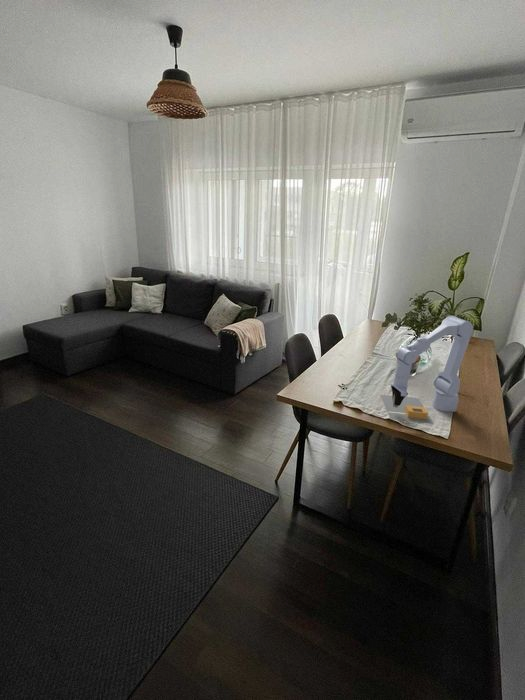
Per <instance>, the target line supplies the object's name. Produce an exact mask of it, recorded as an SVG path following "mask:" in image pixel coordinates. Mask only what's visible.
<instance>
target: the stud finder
mask: <svg viewBox="0 0 525 700" xmlns="http://www.w3.org/2000/svg"><path fill="white" fill-rule="evenodd" d="M405 413H406V415H407V417H410V418H420V419H427V416H428V415H429V412H428V411H427V409H426V407H425V406H423V407H418V406H407V405H406V407H405Z"/></svg>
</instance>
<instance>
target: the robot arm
mask: <svg viewBox="0 0 525 700" xmlns="http://www.w3.org/2000/svg"><path fill="white" fill-rule="evenodd" d="M474 327H475V326H474V324H472V322H470V321H468V320H465V319H462V318H460V317H457V316H455V315H448V316H446V318H445V319H443V320H442V321H441V324H440V325H439V326H437V328H435V329H433V330H432V331H431V332H430V333H429V334H427V335H426V336H425V337H423V336H419V337H418V338H416V340H414V341H413V342H411V343H410V344H408V345H407V346H402V347H400V348H398V350H397V352H395V357H396V368H395V372H394V377H393V378H392V382H390V383H389V385H390V388H391V392H392V394H391V396H392V398H393V397H394V395H395V401H394V403H395V405H398V406H400V404H401V403H402V401H403V399H404V398H405V397H408V395H409V393H408V391H407V390H408V386H409V385H408V384H409V380H410V376H411V375H410V374H411V371H412V367H413V364H414V363H416V362H417V360H418V358H419V356H420V355H422V354H423V353H425V352H427V351H428V350H429V349H430V347H431V344H432V343H435V342H436V341H439V340H440V339H441V338H444V337H445V336H447V335H449V336H452V337H453V338H454V340H453V342H452V346H451V347H450V348H451V349H450V351H449V353H448V354H449V355H448V357H447V360H446V363H445V366H444V369H443V371H440V372H438V373H437V376H436V377H435V378H434V380H433V386H434V390H435V393H434V396H433V400H432V404H431V406H432V408H433V409H435V410H436V411H440V412H457V408H458V404H459V394H458V393H459V391H460V389H461V387H460V386H461V385H460V384H461V379H460V377H459V376H458V374H459V373H458V372H459V370H460V367H461V365H462V362H463V360H464V356H465V355H466V352H467V351H466V350H467V349H468V345H469V342H470V341H471V337H472V332H473V330H474Z"/></svg>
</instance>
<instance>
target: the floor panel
mask: <svg viewBox="0 0 525 700" xmlns="http://www.w3.org/2000/svg"><path fill="white" fill-rule="evenodd" d="M379 397H380V398H381V400H382V402H383V405H384V407H385V410H386V413H387V415H388V416H389V419H390V420H392V421H403V422H414V423H415V422H416V423H423V424H424V423H425V424H433V425H434V421H433V420H432V418H431V417H430V415H429V414H428V416H427V419H420V418H410V417H407V415H406V413H405V407H406V405H407V406H418V407H424V405H423V404H422V402H421V401H420V399H419V397H409V396H406V397H405V398H404V399H403V401H402V403H401V404H400V406H398V407H393V398H392V395H389V394H380V395H379Z"/></svg>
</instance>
